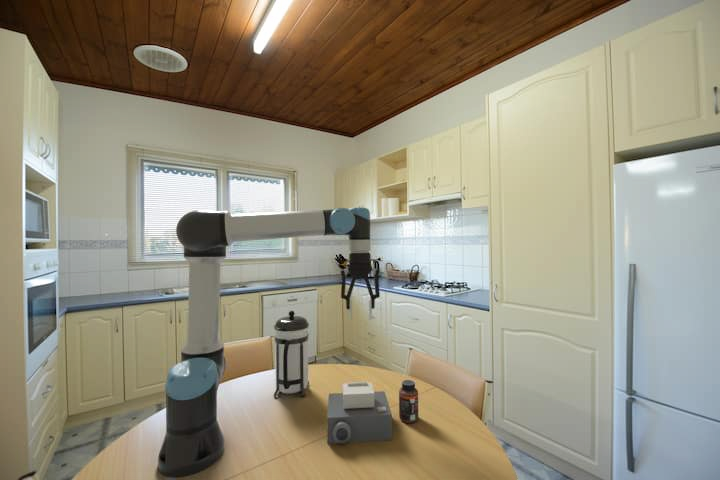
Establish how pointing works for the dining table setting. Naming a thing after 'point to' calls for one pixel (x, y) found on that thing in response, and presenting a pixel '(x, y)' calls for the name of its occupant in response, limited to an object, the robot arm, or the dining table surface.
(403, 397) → the supplement bottle
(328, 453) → the dining table surface
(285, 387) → the coffee press
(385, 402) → the gray box
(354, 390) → the hatch door
